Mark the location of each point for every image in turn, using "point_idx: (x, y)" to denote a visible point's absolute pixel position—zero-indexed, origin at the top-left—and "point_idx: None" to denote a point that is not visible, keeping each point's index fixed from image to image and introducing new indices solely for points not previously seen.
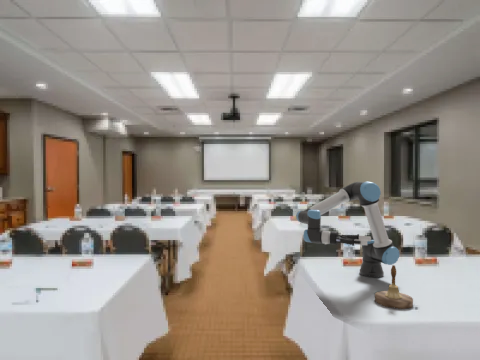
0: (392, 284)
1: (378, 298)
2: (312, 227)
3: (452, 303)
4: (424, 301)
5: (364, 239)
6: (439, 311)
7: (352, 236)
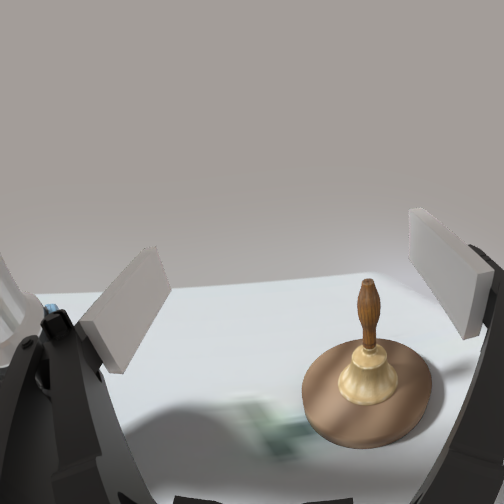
0: (376, 350)
1: (422, 410)
2: None
3: (275, 304)
4: (295, 341)
5: (142, 313)
6: None
7: (91, 400)
